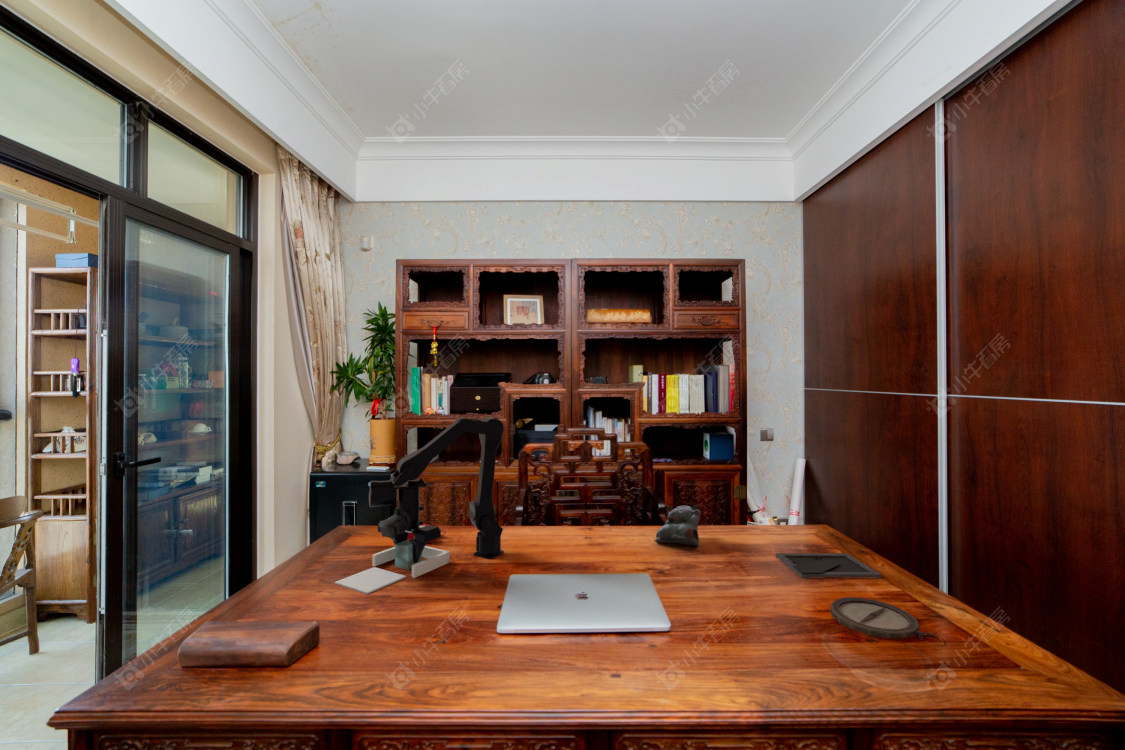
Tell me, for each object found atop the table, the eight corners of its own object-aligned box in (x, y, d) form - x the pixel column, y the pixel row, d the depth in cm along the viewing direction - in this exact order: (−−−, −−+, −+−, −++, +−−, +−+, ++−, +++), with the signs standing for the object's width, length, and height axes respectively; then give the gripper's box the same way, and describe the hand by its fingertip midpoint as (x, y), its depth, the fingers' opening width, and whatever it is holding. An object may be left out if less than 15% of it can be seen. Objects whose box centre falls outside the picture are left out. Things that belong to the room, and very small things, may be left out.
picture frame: (801, 580, 137) (881, 580, 137) (801, 572, 137) (881, 572, 137) (775, 558, 153) (847, 558, 153) (775, 551, 153) (847, 551, 153)
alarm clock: (399, 523, 171) (445, 513, 172) (403, 542, 171) (449, 531, 172) (391, 533, 160) (439, 522, 161) (395, 553, 160) (443, 542, 161)
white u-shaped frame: (449, 562, 146) (449, 551, 146) (414, 577, 135) (414, 566, 135) (408, 552, 154) (408, 541, 154) (372, 565, 143) (372, 554, 143)
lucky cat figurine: (646, 541, 166) (654, 498, 172) (676, 552, 170) (683, 510, 175) (676, 540, 153) (683, 494, 159) (708, 552, 157) (714, 507, 163)
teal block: (421, 564, 144) (422, 542, 144) (408, 570, 140) (408, 547, 140) (408, 560, 147) (409, 539, 147) (394, 566, 143) (395, 544, 143)
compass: (813, 606, 121) (813, 597, 121) (878, 603, 123) (878, 594, 123) (875, 652, 101) (876, 642, 101) (952, 648, 103) (952, 637, 103)
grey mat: (405, 577, 135) (405, 576, 135) (367, 594, 124) (367, 592, 124) (374, 568, 141) (374, 566, 141) (334, 583, 131) (334, 582, 131)
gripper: (361, 505, 141) (361, 563, 141) (411, 515, 132) (410, 577, 132) (394, 497, 151) (393, 551, 151) (442, 505, 141) (441, 563, 141)
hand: (408, 560), depth 143 cm, fingers closed on teal block, 5 cm apart
